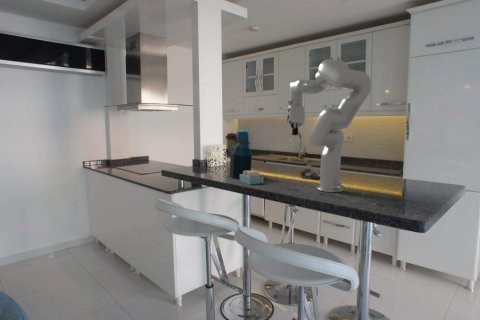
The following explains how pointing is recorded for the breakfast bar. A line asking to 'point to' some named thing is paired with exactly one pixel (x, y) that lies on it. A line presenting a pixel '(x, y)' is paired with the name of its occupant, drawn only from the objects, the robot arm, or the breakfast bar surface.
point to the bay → (251, 179)
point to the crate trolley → (251, 173)
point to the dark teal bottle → (240, 155)
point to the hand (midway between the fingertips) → (294, 135)
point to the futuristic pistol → (314, 173)
